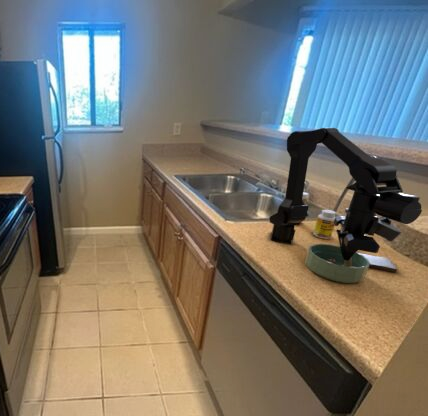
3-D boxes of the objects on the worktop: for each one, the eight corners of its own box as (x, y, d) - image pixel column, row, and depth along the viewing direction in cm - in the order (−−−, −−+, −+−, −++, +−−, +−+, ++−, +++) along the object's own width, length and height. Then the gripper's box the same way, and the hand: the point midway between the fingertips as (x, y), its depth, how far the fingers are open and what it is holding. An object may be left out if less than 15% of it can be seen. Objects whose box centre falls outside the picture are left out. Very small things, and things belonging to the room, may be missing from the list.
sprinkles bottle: (302, 223, 117) (311, 193, 112) (297, 225, 115) (306, 195, 110) (291, 219, 121) (298, 190, 116) (286, 222, 118) (293, 192, 113)
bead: (325, 264, 86) (328, 261, 85) (328, 259, 87) (330, 256, 86) (333, 267, 85) (335, 264, 84) (335, 262, 86) (338, 259, 84)
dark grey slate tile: (357, 264, 87) (358, 261, 87) (351, 254, 93) (352, 251, 92) (395, 272, 83) (397, 269, 82) (387, 261, 89) (388, 258, 88)
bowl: (307, 276, 82) (312, 260, 80) (302, 254, 93) (306, 240, 91) (370, 290, 75) (377, 273, 73) (356, 265, 87) (361, 250, 85)
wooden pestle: (339, 274, 81) (339, 240, 78) (338, 267, 84) (338, 234, 81) (357, 276, 79) (358, 241, 76) (356, 269, 82) (356, 235, 78)
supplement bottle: (315, 238, 104) (323, 213, 100) (310, 232, 109) (317, 208, 105) (333, 240, 102) (341, 214, 99) (327, 233, 107) (334, 209, 104)
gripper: (419, 228, 64) (394, 283, 69) (390, 203, 79) (371, 250, 84) (357, 219, 69) (338, 271, 74) (340, 197, 84) (326, 242, 89)
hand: (345, 258), depth 80 cm, fingers closed on wooden pestle, 2 cm apart
